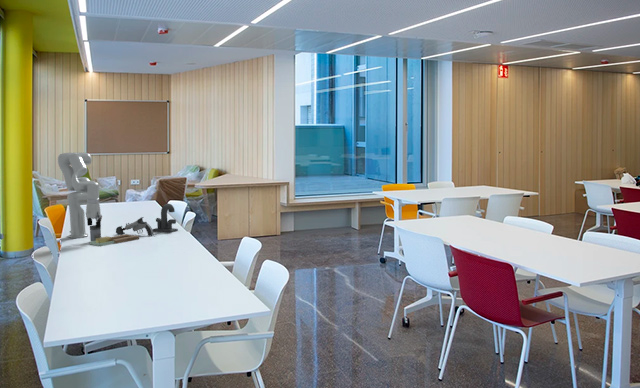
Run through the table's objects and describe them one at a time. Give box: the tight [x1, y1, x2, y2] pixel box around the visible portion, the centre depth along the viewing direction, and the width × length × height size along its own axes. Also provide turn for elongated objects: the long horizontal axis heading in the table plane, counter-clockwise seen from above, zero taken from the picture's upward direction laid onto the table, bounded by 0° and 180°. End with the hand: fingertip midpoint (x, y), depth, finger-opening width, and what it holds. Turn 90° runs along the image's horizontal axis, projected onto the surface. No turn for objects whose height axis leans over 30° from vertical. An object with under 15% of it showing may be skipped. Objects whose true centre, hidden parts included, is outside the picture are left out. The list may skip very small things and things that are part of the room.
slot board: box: [109, 233, 140, 244], centre depth 376 cm, size 14×18×2 cm
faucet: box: [152, 203, 179, 234], centre depth 414 cm, size 18×16×20 cm
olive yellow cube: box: [101, 235, 111, 242], centre depth 366 cm, size 4×4×4 cm
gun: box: [115, 216, 154, 237], centre depth 397 cm, size 5×27×15 cm, turn 76°
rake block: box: [89, 224, 102, 242], centre depth 372 cm, size 4×5×11 cm
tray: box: [89, 240, 116, 247], centre depth 364 cm, size 11×11×2 cm
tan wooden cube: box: [96, 236, 105, 243], centre depth 363 cm, size 4×4×4 cm
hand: (94, 226), depth 373 cm, fingers open, 9 cm apart
